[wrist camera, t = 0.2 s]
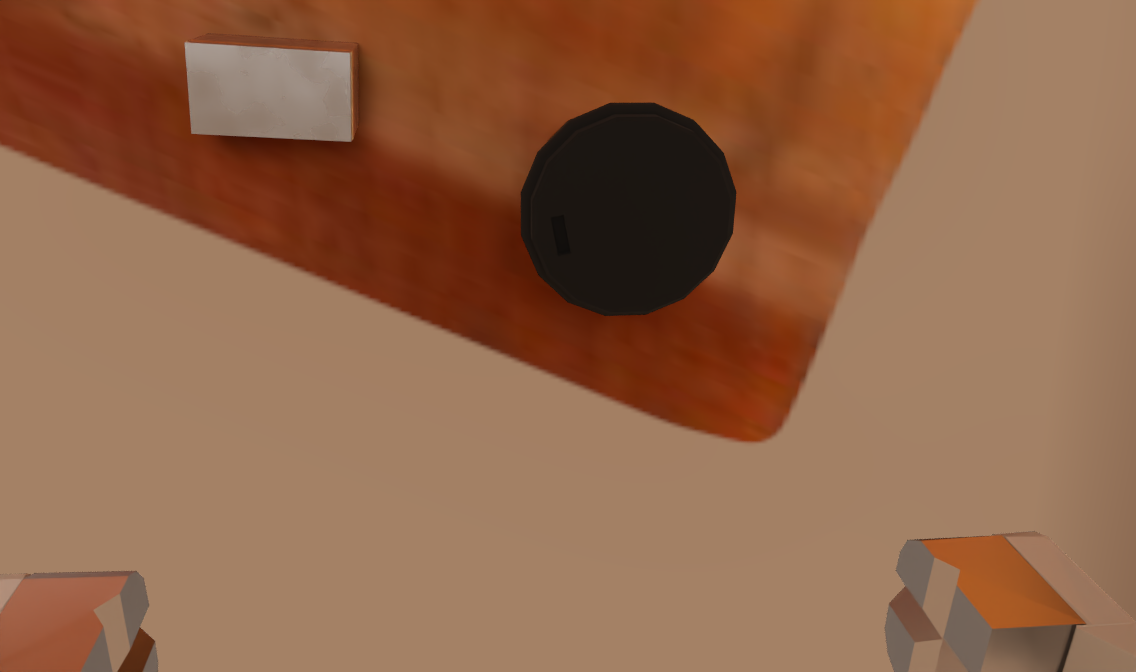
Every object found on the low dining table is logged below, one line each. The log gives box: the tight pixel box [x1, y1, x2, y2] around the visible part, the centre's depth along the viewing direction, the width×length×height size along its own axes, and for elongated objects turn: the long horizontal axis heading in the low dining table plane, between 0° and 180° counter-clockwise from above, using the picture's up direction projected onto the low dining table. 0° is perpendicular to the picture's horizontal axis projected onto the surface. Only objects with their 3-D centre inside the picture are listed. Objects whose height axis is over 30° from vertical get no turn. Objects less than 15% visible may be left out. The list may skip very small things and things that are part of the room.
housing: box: [185, 33, 359, 142], centre depth 50 cm, size 4×8×5 cm, turn 86°
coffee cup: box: [521, 103, 736, 316], centre depth 51 cm, size 11×11×12 cm
